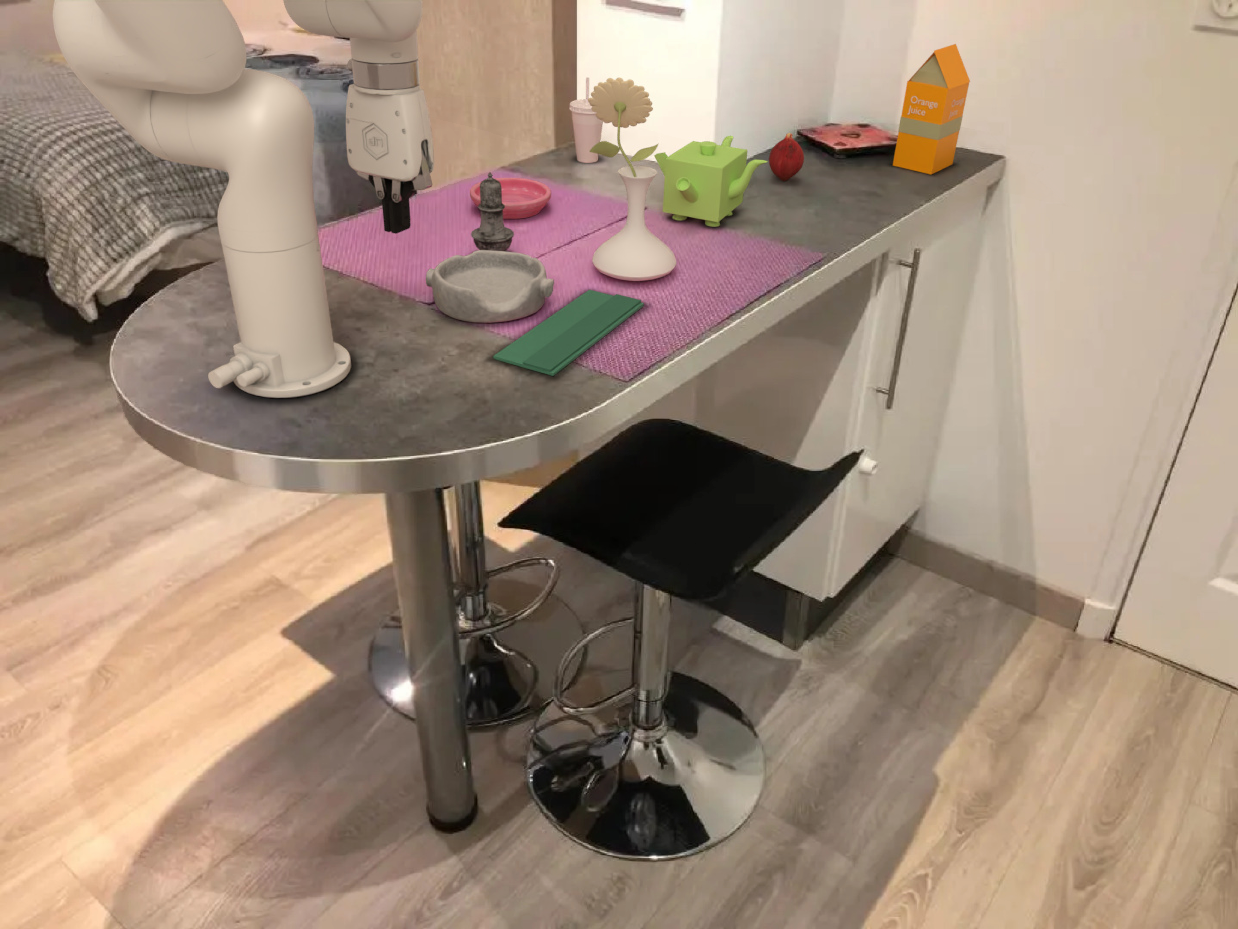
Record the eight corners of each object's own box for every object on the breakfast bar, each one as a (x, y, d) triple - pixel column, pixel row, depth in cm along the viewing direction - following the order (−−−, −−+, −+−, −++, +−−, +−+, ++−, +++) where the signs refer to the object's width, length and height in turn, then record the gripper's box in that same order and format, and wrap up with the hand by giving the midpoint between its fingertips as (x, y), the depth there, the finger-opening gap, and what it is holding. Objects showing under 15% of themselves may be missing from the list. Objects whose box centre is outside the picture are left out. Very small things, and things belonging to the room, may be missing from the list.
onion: (803, 187, 171) (809, 138, 167) (768, 185, 171) (774, 137, 167) (798, 176, 176) (804, 129, 172) (765, 175, 176) (770, 128, 171)
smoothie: (566, 163, 178) (565, 80, 171) (573, 153, 184) (573, 71, 176) (601, 166, 178) (603, 82, 170) (608, 155, 183) (610, 74, 175)
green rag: (553, 376, 113) (553, 370, 112) (493, 358, 116) (493, 353, 116) (643, 305, 129) (644, 300, 129) (589, 292, 132) (589, 287, 132)
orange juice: (891, 165, 183) (912, 47, 172) (914, 155, 189) (935, 40, 178) (932, 174, 179) (955, 54, 168) (953, 164, 184) (978, 46, 173)
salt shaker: (507, 268, 138) (504, 180, 132) (466, 263, 139) (461, 176, 132) (519, 252, 143) (517, 167, 136) (479, 248, 144) (475, 163, 137)
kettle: (726, 196, 166) (732, 126, 160) (767, 226, 155) (775, 152, 149) (641, 205, 161) (644, 133, 155) (677, 236, 150) (682, 160, 144)
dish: (567, 309, 128) (567, 272, 125) (473, 338, 120) (471, 299, 117) (502, 273, 137) (501, 237, 134) (411, 298, 129) (408, 260, 126)
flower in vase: (689, 266, 140) (702, 77, 127) (652, 295, 132) (662, 96, 118) (606, 248, 145) (610, 64, 132) (565, 274, 137) (565, 81, 123)
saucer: (561, 200, 162) (561, 181, 160) (536, 227, 152) (536, 206, 150) (487, 192, 164) (486, 173, 162) (458, 218, 154) (457, 197, 152)
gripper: (314, 71, 118) (330, 226, 127) (417, 88, 112) (427, 249, 121) (357, 62, 123) (370, 211, 133) (458, 78, 118) (464, 233, 127)
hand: (397, 229), depth 127 cm, fingers closed
